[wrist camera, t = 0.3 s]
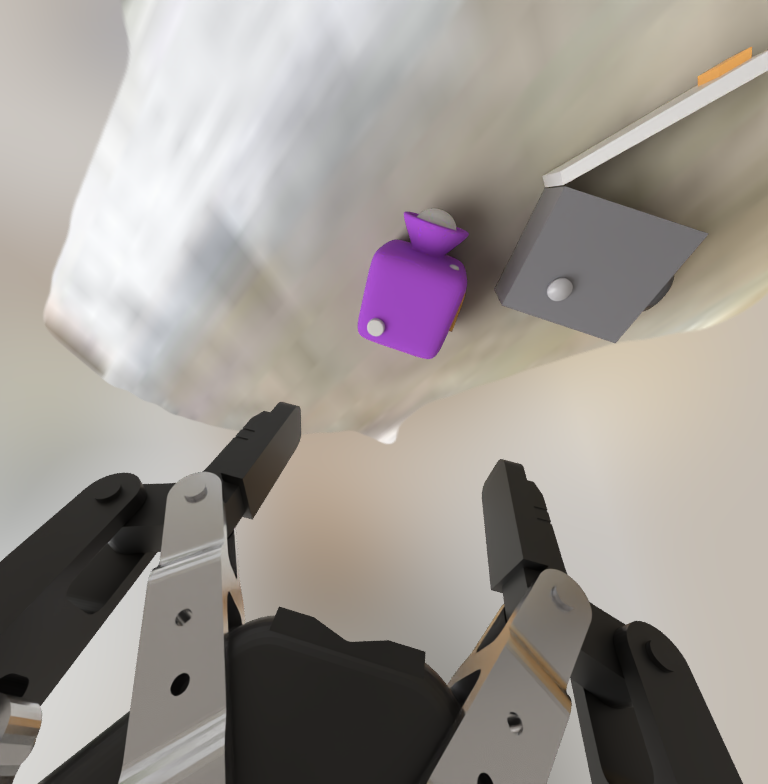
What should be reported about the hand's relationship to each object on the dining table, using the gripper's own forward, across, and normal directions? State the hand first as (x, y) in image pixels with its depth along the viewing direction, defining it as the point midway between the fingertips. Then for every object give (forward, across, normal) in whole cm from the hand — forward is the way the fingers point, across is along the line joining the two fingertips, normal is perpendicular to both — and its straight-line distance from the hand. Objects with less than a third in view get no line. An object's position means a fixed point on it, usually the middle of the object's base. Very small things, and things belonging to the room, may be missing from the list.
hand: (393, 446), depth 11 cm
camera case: (+28, -14, -5) cm, 32 cm away
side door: (+28, -12, -15) cm, 34 cm away
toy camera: (+28, +2, 0) cm, 28 cm away
